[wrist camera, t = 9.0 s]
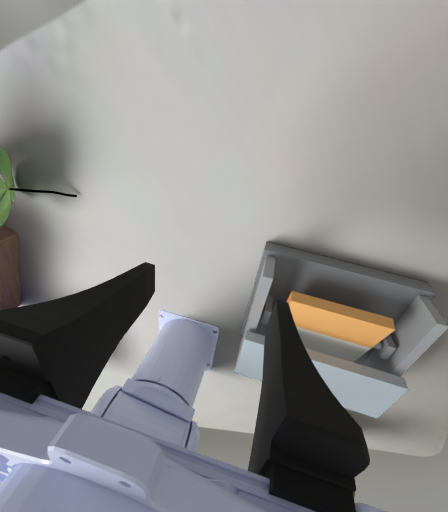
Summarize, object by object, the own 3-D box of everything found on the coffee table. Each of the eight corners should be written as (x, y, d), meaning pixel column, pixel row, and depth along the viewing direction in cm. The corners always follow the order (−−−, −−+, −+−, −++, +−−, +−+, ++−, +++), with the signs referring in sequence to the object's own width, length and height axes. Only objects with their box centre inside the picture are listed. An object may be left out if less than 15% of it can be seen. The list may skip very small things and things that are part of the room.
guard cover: (374, 407, 23) (377, 418, 22) (236, 363, 25) (234, 372, 24) (403, 377, 20) (408, 389, 19) (246, 330, 22) (244, 339, 21)
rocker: (359, 355, 24) (360, 365, 24) (264, 327, 25) (262, 336, 25) (403, 321, 19) (406, 332, 19) (282, 288, 20) (281, 297, 20)
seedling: (80, 160, 28) (7, 150, 25) (68, 152, 21) (-36, 138, 18) (83, 223, 30) (15, 220, 27) (73, 236, 22) (-21, 234, 20)
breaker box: (360, 367, 28) (371, 410, 24) (240, 331, 29) (232, 365, 25) (427, 282, 21) (458, 323, 17) (266, 241, 22) (260, 269, 19)
